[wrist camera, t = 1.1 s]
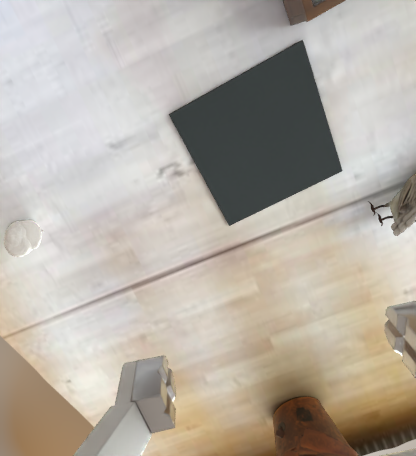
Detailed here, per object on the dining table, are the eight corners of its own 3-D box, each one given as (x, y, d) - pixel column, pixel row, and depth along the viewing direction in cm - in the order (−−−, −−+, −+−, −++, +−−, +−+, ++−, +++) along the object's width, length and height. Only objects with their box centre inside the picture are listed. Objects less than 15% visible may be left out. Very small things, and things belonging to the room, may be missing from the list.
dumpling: (26, 251, 53) (8, 263, 49) (7, 225, 51) (-12, 234, 48) (57, 238, 51) (41, 248, 47) (38, 209, 49) (20, 218, 46)
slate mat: (169, 114, 44) (169, 114, 44) (301, 40, 41) (302, 40, 41) (228, 224, 53) (229, 225, 53) (341, 170, 50) (342, 171, 50)
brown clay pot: (337, 380, 76) (379, 464, 60) (328, 428, 85) (362, 512, 69) (264, 389, 75) (287, 477, 59) (263, 437, 84) (283, 523, 69)
